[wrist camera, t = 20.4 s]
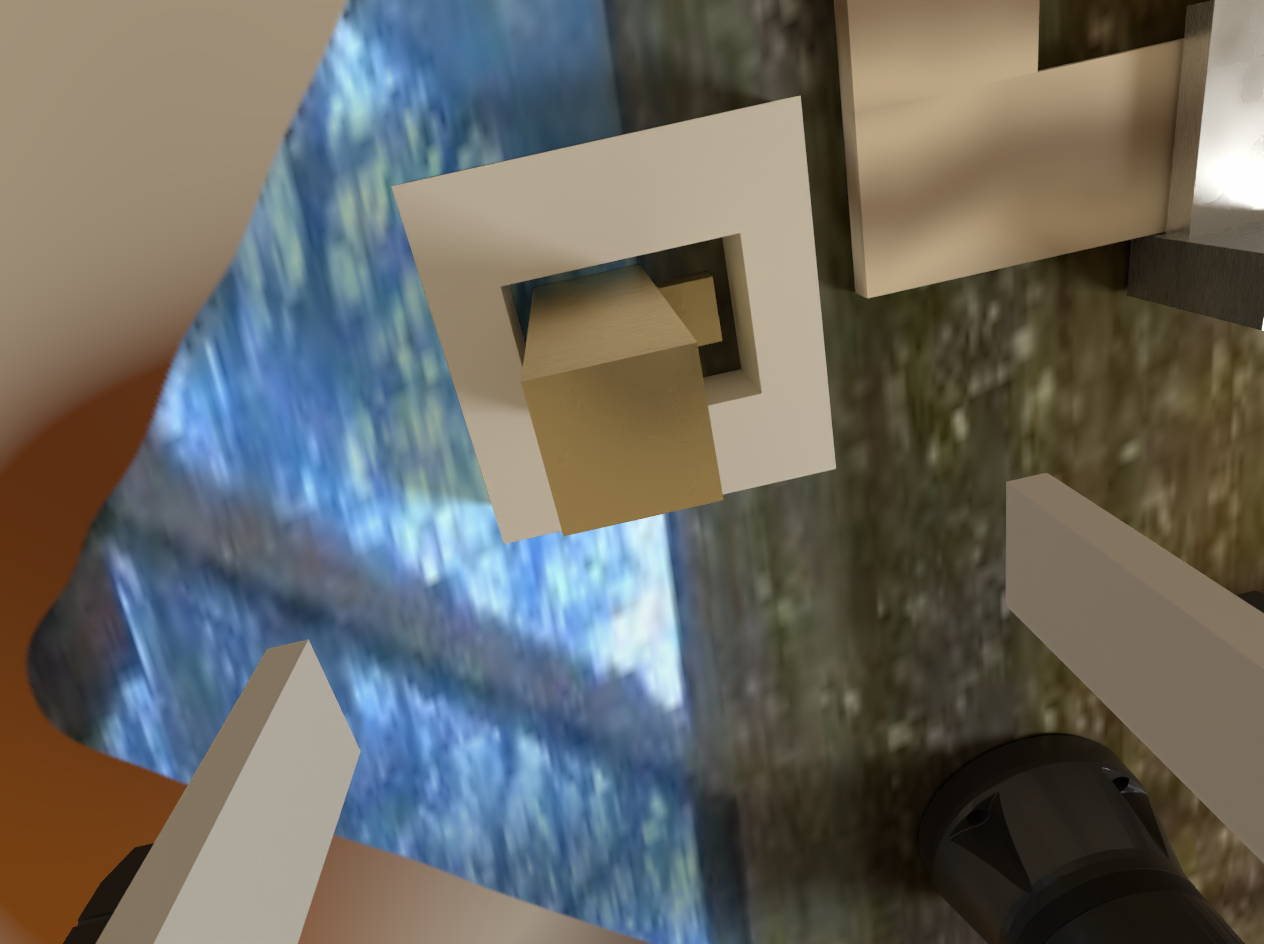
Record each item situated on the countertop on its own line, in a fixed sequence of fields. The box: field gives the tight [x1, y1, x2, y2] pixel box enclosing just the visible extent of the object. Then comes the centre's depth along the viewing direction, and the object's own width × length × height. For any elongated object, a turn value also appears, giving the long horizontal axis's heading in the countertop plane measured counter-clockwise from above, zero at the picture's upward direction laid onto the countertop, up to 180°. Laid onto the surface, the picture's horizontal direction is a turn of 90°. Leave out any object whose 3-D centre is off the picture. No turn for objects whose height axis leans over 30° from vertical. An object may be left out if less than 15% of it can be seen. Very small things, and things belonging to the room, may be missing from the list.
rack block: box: [391, 96, 836, 544], centre depth 33 cm, size 16×16×4 cm
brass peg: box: [521, 264, 724, 536], centre depth 28 cm, size 5×8×15 cm, turn 101°
